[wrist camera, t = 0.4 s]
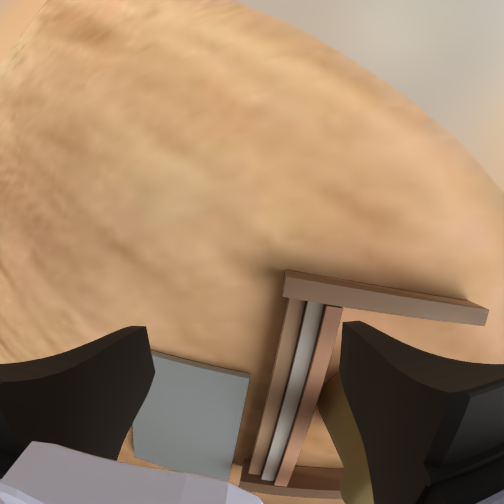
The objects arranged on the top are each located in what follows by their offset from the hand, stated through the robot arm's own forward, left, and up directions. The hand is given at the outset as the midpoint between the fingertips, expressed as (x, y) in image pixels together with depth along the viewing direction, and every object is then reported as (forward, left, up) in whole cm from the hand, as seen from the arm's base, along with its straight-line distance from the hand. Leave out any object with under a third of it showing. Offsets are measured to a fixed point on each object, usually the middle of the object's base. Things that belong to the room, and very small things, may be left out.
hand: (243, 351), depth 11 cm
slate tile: (-12, +4, -11) cm, 17 cm away
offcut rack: (-7, -9, -11) cm, 16 cm away
